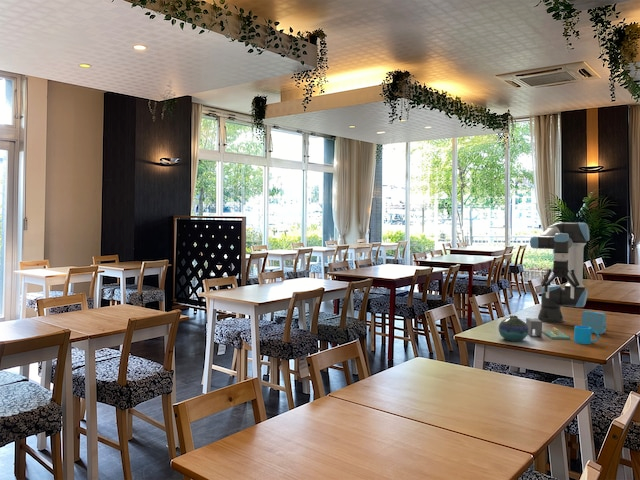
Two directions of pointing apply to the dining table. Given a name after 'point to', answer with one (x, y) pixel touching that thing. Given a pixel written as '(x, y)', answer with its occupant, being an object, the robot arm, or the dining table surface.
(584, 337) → the mug
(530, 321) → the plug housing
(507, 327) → the vase
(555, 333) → the header board
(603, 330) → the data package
